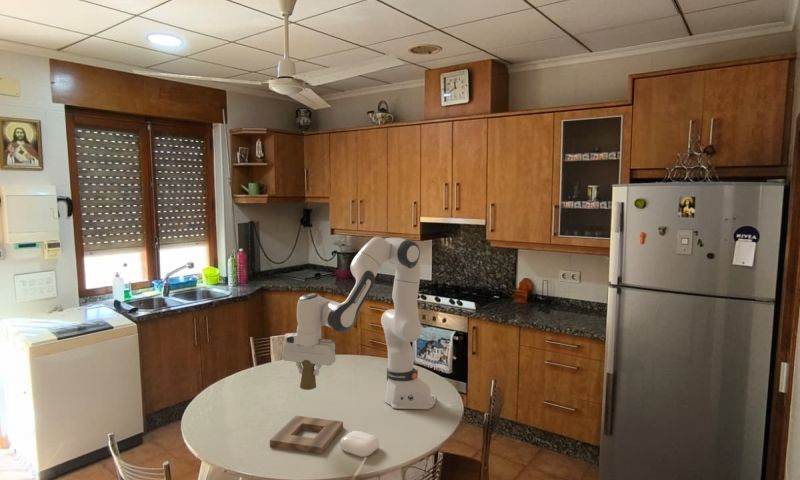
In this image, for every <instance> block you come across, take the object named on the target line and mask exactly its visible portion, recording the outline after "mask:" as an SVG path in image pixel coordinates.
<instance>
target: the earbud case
mask: <svg viewBox="0 0 800 480" xmlns="http://www.w3.org/2000/svg"><path fill="white" fill-rule="evenodd" d="M339 447H340V448H341V449H342V451H343V452H345V453H348V454H351V455H353V456H357V457H361V458H365V457H369V456H370V455H372V454H373V453H375V452H376V451H377V450H378V449H379V448H380V440H379V439H378V437H377V436H375V435H373V434H370V433H367V432H364V431H360V430H353V431H350V432H349V433H348V434H347V433H346V434H345V435H344V436H342V438H340V442H339Z"/></svg>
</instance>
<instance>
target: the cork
mask: <svg viewBox="0 0 800 480" xmlns="http://www.w3.org/2000/svg"><path fill="white" fill-rule="evenodd" d="M301 365H302V367H303V371H302V374H301V377H300V378H301V379H300V384H299V388H300V389H301V390H305V391H306V390H307V391H310V390H314V389H316V388H317V382H316V379H317V378H316V375H313V374H314V373H313V371H314V370H315V369H316V368H315V367H316V364H312V363H311V362H310V361H309V360H304V361H303V362H302V363H301Z"/></svg>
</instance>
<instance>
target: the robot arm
mask: <svg viewBox="0 0 800 480" xmlns="http://www.w3.org/2000/svg"><path fill="white" fill-rule="evenodd" d="M420 250H421V249H420V248H419V244H418V243H416V242H415V241H413V240H411V239H406V238H402V237H390V236H385V237H380V236H374V237H372V238H371V239H370V240H368V242H366V243H365V244H364V245H363V246H362V247H361V248H360V249H359V251H358V253H356V255H355V256H354V257H353V259H352V261H351V263H350V267H349V268H350V272H351V274H352V276H353V278H354V279H355V284H354V286H353V288H352V289H351V291H350V293H349V294H348V295H347V298H346V299H345V301H343V302H337V301H335V300H331V299H328V298H326V297H323V296H321V295H320V294H319V293H315V292H314V293H312V292H311V293H306V294H303V295H301V296H300V297H299V298H298V300H297V304H296V305H297V306H296V321H297V326H296V327H297V328H296V332H292V333H290V334H288V335H286V336H285V337H284V340H283V341H284V344H283V345H282V353H281V354H282V357H281V358H282V359H283V361H285V362H292V363H295V366H296V367H297V369H298V373H299V374H300V375H302V371H303V366H302V362H303V361H304V360H309V361H310V362H311V363H312V364H316V365H315V368H314V369H315V370H314V371H313V373H314V374H313V375H315V377H316V376H317V377H318V376H319V375H320V369H321V368H322V366H333V365H334V364H335V362H336V351H335V350H336V343H335V342H334V341H333V340H332V339H325V338H322V327H323V326H326V327H328V328H331V329H332V330H334V331H336V332H338V333H345V332H348V331H349V330H351V329H352V328H353V326H354V325H355V323H356V320H357V317H358V315H359V312H360V310H361V309H362V306H363V305H364V303H365V301H366V299H367V298H368V296H369V294H370V293H371V292H372V291H371V290H372V289H373V287H374V285H375V283H376V282H375V281H376V276H377V274H378V272H379V271H380V269H381V268H382V267H383V266H384V265H385V263H389V264H392V265H395V273H394V278H393V286H392V287H393V288H392V293H391V298H392V302H393V307H394V308H390V309H386V310H385V311H384V312H383V313H382V315H381V318H380V323H381V326H382V329H383V333H384V337H385V343H386V348H387V367H386V381H387V383H386V389H385V391H386V392H385V394H384V400H383V401H384V402H385V403H386V404H388V405H390V406H391V408H393V409H399V410H400V409H402V410H404V409H405V410H430V409H432V408H433V407H434V405H436V402H437V401H436V398H437V397H436V396H435V395H434V394H431V389H430V385H429V384H428V383H426V382H425V381H424V380H422V379H421V378H420V377H419V375H418V374H419V369H418V368H416V369H415V367H414V349H413V347H412V345H411V343H412V342H416V341H417V340H419V339H420V337H421V335H422V333H423V328H422V327H423V326H422V324H421V321H420V317H419V308H418V307H419V306H418V299H419V298H418V297H419V290H420V289H419V288H420V282H421V281H420V280H421V261H420V256H421V251H420Z"/></svg>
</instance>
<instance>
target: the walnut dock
mask: <svg viewBox="0 0 800 480" xmlns="http://www.w3.org/2000/svg"><path fill="white" fill-rule="evenodd" d="M343 429H344V421H341V420H340V421H339V420H334V419H326V418H320V417H319V418H318V417H311V416H310V417H309V416H301V415H294V417H293V418H291V420H289V422H287V423H286V424H285V425H284V426H283V427H282V428H281V429H280V430H279V431H277V432H276V434H274V435H273V436H272V437H271V438H270V439H269V447H270V448H276V449H284V450H289V451H290V450H291V451H297V452H303V453H310V454H317V455H323V453H324V452H325V451H326V450H327V449H328V447H329V446H330V445H331V443H332V442H333V441H334V440H335V438H336V437H337V436H338V435H339V434H340V432H341V431H342V430H343ZM302 430H303V431H312V432H318V433H317V434H316V436H315V437H309V436H308V437H307V436H300V435H298V434H300V433H301V431H302Z"/></svg>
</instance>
